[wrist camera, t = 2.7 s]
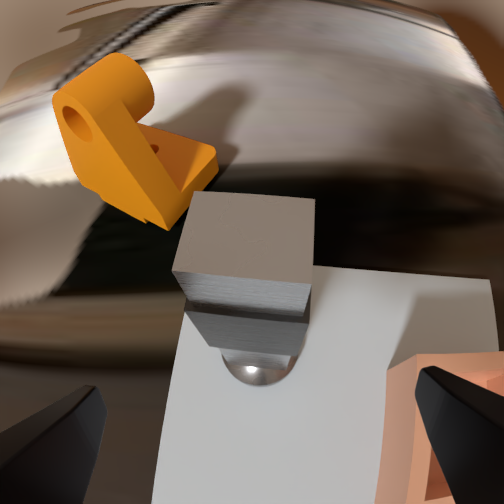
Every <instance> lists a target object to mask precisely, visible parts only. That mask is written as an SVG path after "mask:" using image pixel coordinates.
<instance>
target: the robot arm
mask: <svg viewBox="0 0 504 504" xmlns="http://www.w3.org/2000/svg"><path fill="white" fill-rule="evenodd" d="M415 399H416V402H417V405H418V408H419V411H420V414H421V417H422V421H423V424H424V427H425V430H426V433H427V436H428V439H429V442H430V444H431V446H432V449H433V451H434V453H435V455H436V458H437V460H438V462H439V465H440V467H441V469H442V472H443V474H444V477H445V479H446V482H447V484H448V486H449V489H450V491H451V494H452V496H453V499H454V502H455V504H504V396H501V395H499V394H497V393H495V392H492V391H490V390H488V389H486V388H483V387H481V386H479V385H477V384H474V383H472V382H470V381H468V380H465V379H463V378H461V377H459V376H457V375H454V374H452V373H450V372H448V371H446V370H443V369H441V368H439V367H437V366H434V365H433V366H428V367H423V368H422V369H421V370H420V372H419V375H418V379H417V384H416V387H415ZM106 418H107V408H106V405H105V403H104V400H103V398H102V395H101V392H100V390H99V389H98V387H96V386H89V385H84V386H82V387H80V388H79V389H77V390H75V391H74V392H72V393H70V394H68V395H67V396H65V397H63V398H61V399H60V400H58V401H56V402H54V403H53V404H51V405H49V406H47V407H46V408H44V409H42V410H40V411H39V412H37V413H35V414H33V415H31V416H30V417H28V418H26V419H24V420H22V421H21V422H19V423H17V424H15V425H13V426H12V427H10V428H8V429H6V430H4V431H2V432H1V433H0V504H83V501H84V498H85V495H86V491H87V488H88V485H89V482H90V479H91V476H92V473H93V470H94V467H95V464H96V460H97V457H98V453H99V449H100V444H101V440H102V435H103V431H104V426H105V422H106Z"/></svg>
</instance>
